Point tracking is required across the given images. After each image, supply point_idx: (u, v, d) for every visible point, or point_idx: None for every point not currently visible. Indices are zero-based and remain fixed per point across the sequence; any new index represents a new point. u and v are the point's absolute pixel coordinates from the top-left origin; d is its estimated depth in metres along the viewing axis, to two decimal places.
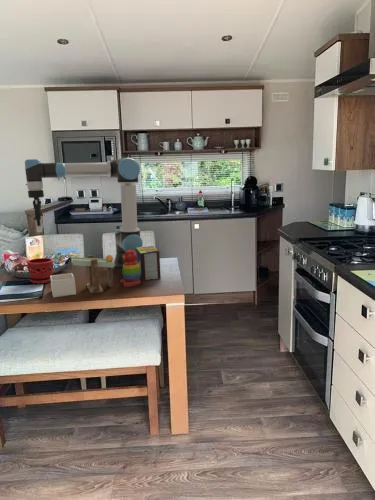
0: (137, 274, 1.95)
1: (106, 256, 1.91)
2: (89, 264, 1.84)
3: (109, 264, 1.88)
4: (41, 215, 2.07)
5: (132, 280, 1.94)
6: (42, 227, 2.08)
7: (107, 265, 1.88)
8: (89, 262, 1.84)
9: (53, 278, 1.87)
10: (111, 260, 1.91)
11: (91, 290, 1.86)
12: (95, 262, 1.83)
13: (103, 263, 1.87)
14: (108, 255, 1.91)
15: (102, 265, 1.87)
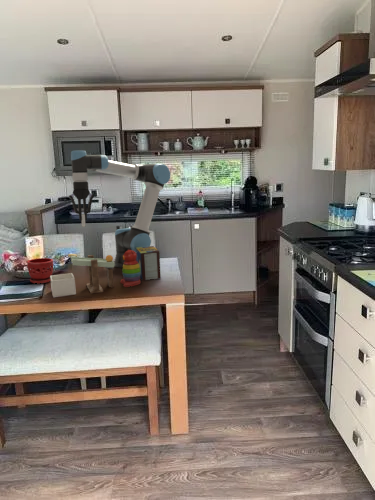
0: (137, 274, 1.95)
1: (106, 256, 1.91)
2: (89, 264, 1.84)
3: (109, 264, 1.88)
4: (85, 213, 1.99)
5: (132, 280, 1.94)
6: (83, 225, 2.00)
7: (107, 265, 1.88)
8: (89, 262, 1.84)
9: (53, 278, 1.87)
10: (111, 260, 1.91)
11: (91, 290, 1.86)
12: (95, 262, 1.83)
13: (103, 263, 1.87)
14: (108, 255, 1.91)
15: (102, 265, 1.87)
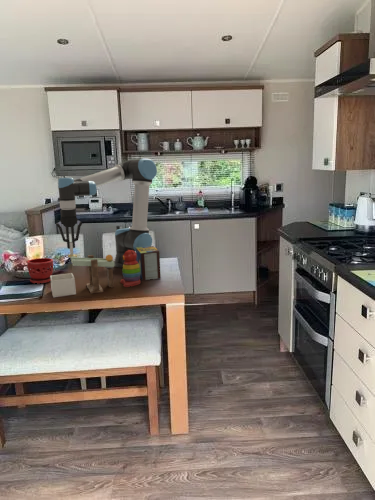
0: (137, 274, 1.95)
1: (106, 256, 1.91)
2: (89, 264, 1.84)
3: (109, 264, 1.88)
4: None
5: (132, 280, 1.94)
6: (71, 254, 1.95)
7: (107, 265, 1.88)
8: (89, 262, 1.84)
9: (53, 278, 1.87)
10: (111, 260, 1.91)
11: (91, 290, 1.86)
12: (95, 262, 1.83)
13: (103, 263, 1.87)
14: (108, 255, 1.91)
15: (102, 265, 1.87)
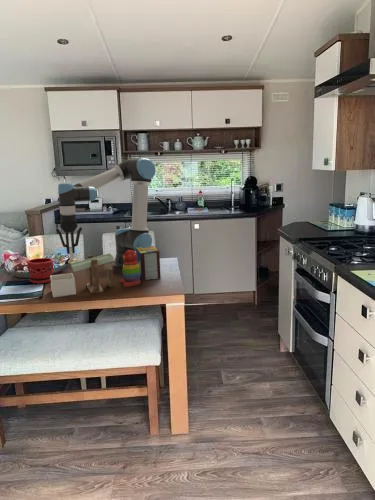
0: (137, 274, 1.95)
1: None
2: (89, 265, 1.84)
3: (108, 259, 1.87)
4: (72, 246, 1.94)
5: (132, 280, 1.94)
6: (71, 259, 1.95)
7: (107, 261, 1.87)
8: (88, 264, 1.84)
9: (53, 278, 1.87)
10: None
11: (91, 290, 1.86)
12: (95, 262, 1.83)
13: (102, 260, 1.86)
14: None
15: (102, 262, 1.86)
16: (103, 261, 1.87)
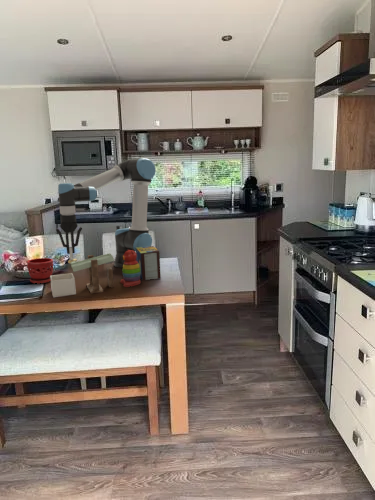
0: (137, 274, 1.95)
1: None
2: (89, 265, 1.84)
3: (108, 259, 1.87)
4: (72, 246, 1.94)
5: (132, 280, 1.94)
6: (71, 259, 1.95)
7: (107, 261, 1.87)
8: (88, 264, 1.84)
9: (53, 278, 1.87)
10: None
11: (91, 290, 1.86)
12: (95, 262, 1.83)
13: (102, 260, 1.86)
14: None
15: (102, 262, 1.86)
16: (103, 261, 1.87)
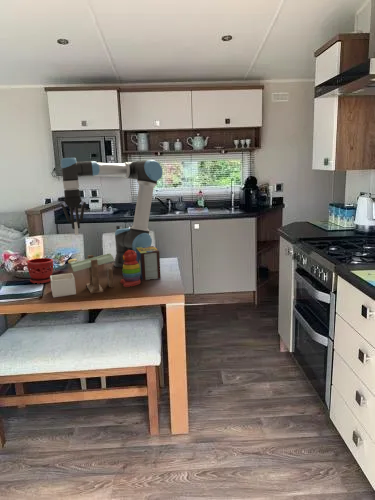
0: (137, 274, 1.95)
1: None
2: (89, 265, 1.84)
3: (108, 259, 1.87)
4: (77, 221, 1.95)
5: (132, 280, 1.94)
6: (76, 234, 1.96)
7: (107, 261, 1.87)
8: (88, 264, 1.84)
9: (53, 278, 1.87)
10: None
11: (91, 290, 1.86)
12: (95, 262, 1.83)
13: (102, 260, 1.86)
14: None
15: (102, 262, 1.86)
16: (103, 261, 1.87)
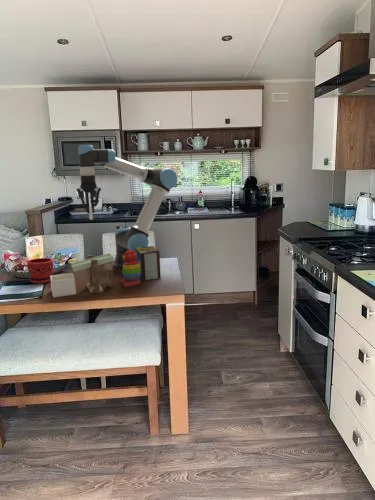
0: (137, 274, 1.95)
1: None
2: (89, 265, 1.84)
3: (108, 259, 1.87)
4: (92, 206, 2.04)
5: (132, 280, 1.94)
6: (91, 218, 2.05)
7: (107, 261, 1.87)
8: (88, 264, 1.84)
9: (53, 278, 1.87)
10: None
11: (91, 290, 1.86)
12: (95, 262, 1.83)
13: (102, 260, 1.86)
14: None
15: (102, 262, 1.86)
16: (103, 261, 1.87)
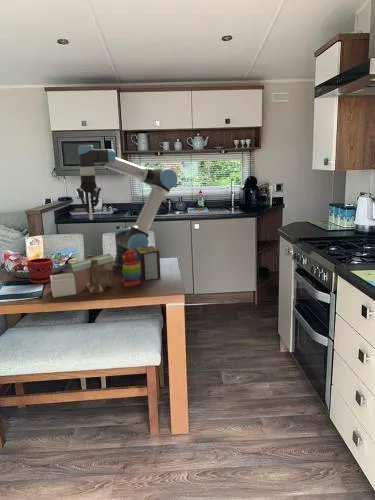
0: (137, 274, 1.95)
1: None
2: (89, 265, 1.84)
3: (108, 259, 1.87)
4: (92, 206, 2.04)
5: (132, 280, 1.94)
6: (91, 218, 2.05)
7: (107, 261, 1.87)
8: (88, 264, 1.84)
9: (53, 278, 1.87)
10: None
11: (91, 290, 1.86)
12: (95, 262, 1.83)
13: (102, 260, 1.86)
14: None
15: (102, 262, 1.86)
16: (103, 261, 1.87)
